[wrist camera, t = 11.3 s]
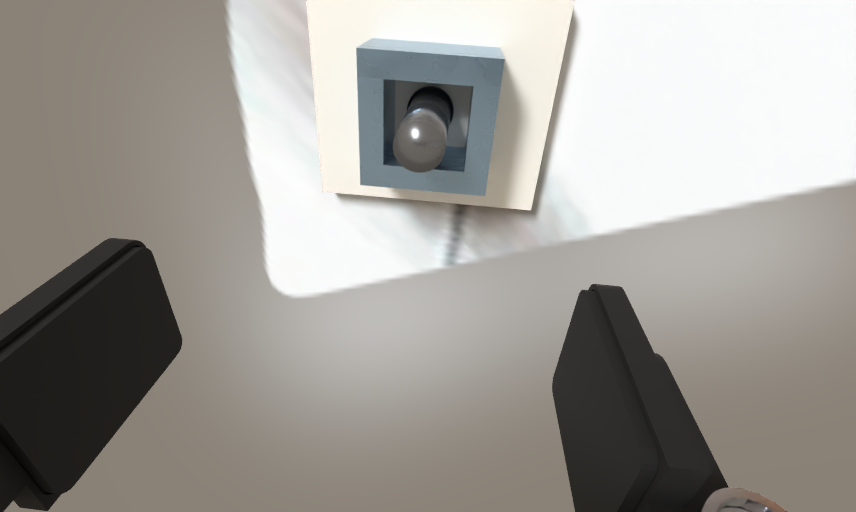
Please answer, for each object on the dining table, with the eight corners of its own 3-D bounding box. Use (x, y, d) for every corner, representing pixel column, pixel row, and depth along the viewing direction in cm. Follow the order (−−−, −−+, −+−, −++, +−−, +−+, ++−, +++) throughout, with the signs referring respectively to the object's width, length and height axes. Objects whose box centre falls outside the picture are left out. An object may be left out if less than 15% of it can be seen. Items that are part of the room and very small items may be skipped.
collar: (499, 47, 23) (504, 58, 20) (483, 169, 27) (485, 196, 24) (372, 38, 24) (356, 47, 20) (373, 160, 28) (360, 185, 24)
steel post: (455, 86, 25) (451, 120, 19) (451, 133, 26) (446, 178, 20) (409, 83, 25) (389, 115, 19) (407, 129, 26) (389, 173, 20)
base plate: (569, -2, 23) (574, -1, 22) (528, 200, 30) (530, 210, 28) (313, -20, 24) (304, -20, 22) (328, 182, 30) (322, 191, 29)
